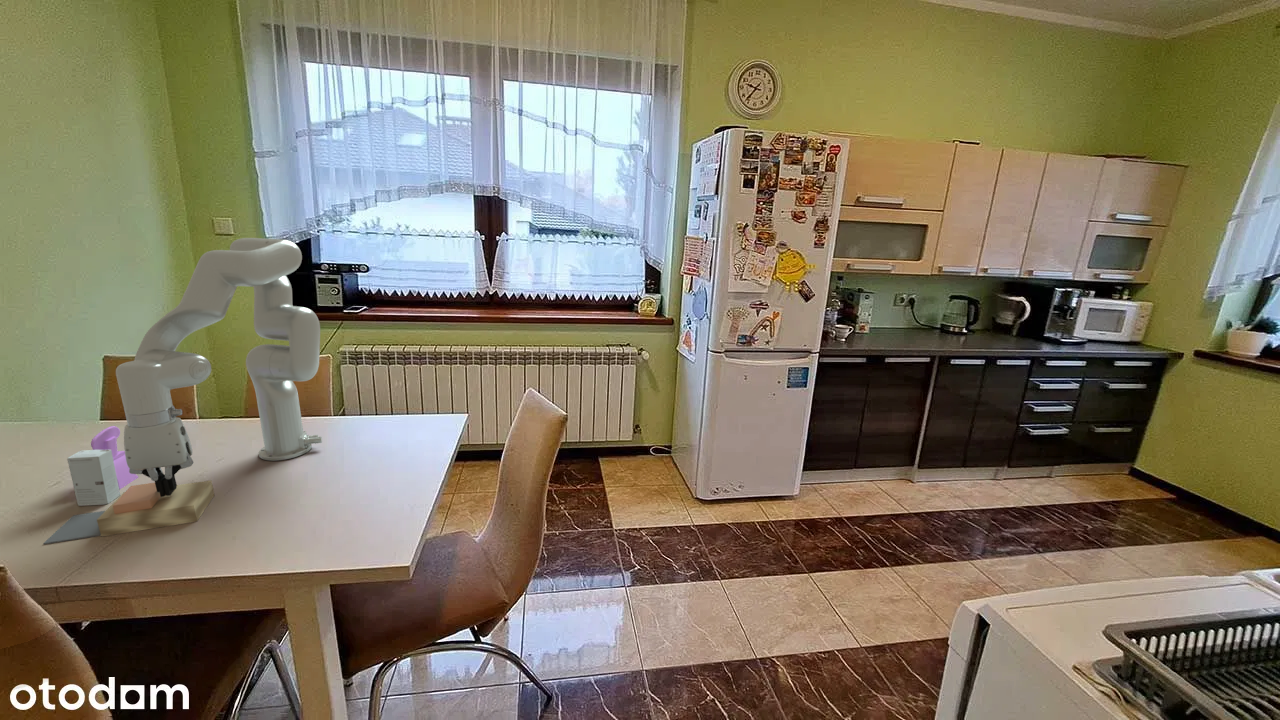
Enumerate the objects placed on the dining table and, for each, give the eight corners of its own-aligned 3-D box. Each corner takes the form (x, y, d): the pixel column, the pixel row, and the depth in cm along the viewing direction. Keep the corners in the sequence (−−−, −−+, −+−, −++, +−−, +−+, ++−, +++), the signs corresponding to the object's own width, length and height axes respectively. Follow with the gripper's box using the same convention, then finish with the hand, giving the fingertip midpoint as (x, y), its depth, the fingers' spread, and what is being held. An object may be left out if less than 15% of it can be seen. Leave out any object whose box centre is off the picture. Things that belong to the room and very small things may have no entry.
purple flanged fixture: (101, 477, 131) (87, 422, 127) (141, 475, 133) (128, 421, 129) (73, 493, 123) (57, 436, 119) (116, 491, 125) (102, 434, 121)
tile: (167, 488, 119) (165, 481, 119) (151, 508, 111) (149, 499, 111) (132, 493, 117) (130, 485, 116) (114, 514, 109) (112, 505, 108)
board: (214, 495, 125) (211, 480, 124) (197, 521, 114) (193, 505, 113) (128, 507, 118) (124, 492, 117) (101, 536, 108) (96, 519, 107)
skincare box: (77, 506, 118) (63, 458, 115) (92, 496, 122) (79, 450, 119) (109, 504, 119) (96, 456, 116) (123, 494, 124) (111, 448, 120)
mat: (127, 508, 118) (126, 507, 118) (102, 535, 108) (102, 533, 108) (73, 516, 114) (73, 515, 114) (43, 544, 105) (43, 543, 105)
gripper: (200, 407, 117) (214, 480, 122) (113, 415, 111) (131, 491, 116) (189, 418, 111) (204, 495, 116) (95, 427, 105) (116, 508, 109)
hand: (168, 493), depth 116 cm, fingers closed
